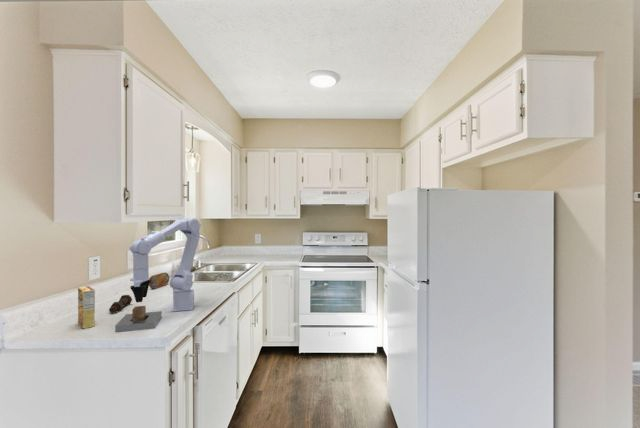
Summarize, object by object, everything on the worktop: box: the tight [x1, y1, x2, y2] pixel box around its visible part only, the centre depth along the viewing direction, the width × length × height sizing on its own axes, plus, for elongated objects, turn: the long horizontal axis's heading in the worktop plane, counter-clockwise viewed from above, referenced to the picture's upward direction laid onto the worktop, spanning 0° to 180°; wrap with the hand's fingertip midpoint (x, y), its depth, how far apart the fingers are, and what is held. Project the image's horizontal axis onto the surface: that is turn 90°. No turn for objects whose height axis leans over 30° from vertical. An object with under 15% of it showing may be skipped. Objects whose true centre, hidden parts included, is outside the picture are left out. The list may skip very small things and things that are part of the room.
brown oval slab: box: [149, 272, 170, 290], centre depth 194 cm, size 15×3×8 cm, turn 167°
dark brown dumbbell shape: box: [108, 294, 133, 314], centre depth 152 cm, size 6×5×15 cm
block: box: [131, 305, 147, 321], centre depth 132 cm, size 4×4×7 cm
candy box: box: [77, 286, 96, 330], centre depth 130 cm, size 9×4×15 cm, turn 49°
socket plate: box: [114, 310, 163, 333], centre depth 132 cm, size 14×14×2 cm
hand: (141, 299), depth 135 cm, fingers open, 7 cm apart
